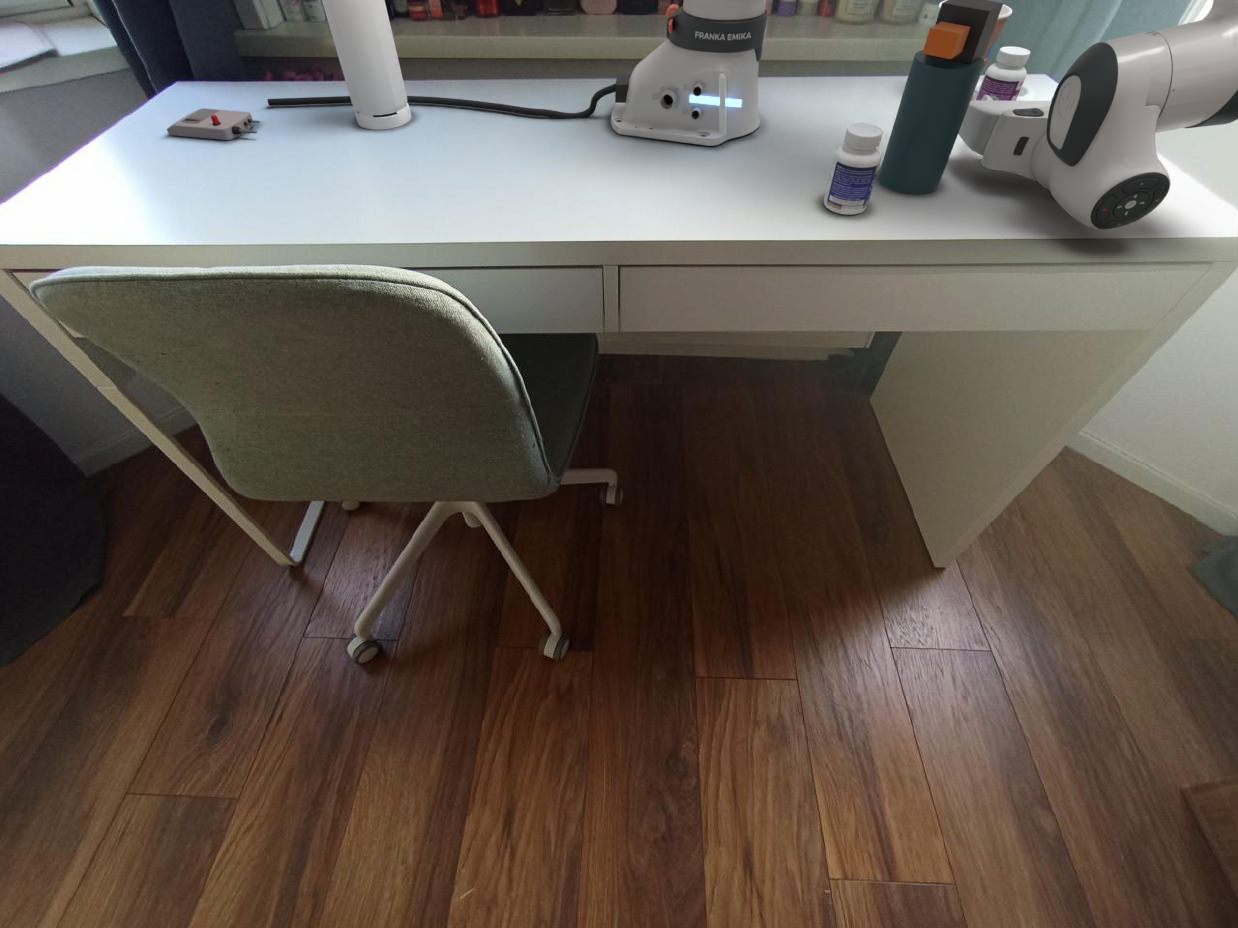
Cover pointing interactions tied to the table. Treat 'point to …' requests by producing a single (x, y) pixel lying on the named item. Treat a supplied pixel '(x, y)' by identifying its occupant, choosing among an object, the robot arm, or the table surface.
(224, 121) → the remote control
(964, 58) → the sports bottle
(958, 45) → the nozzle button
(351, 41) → the bottle
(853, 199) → the pill bottle
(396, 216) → the table surface
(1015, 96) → the pill bottle
